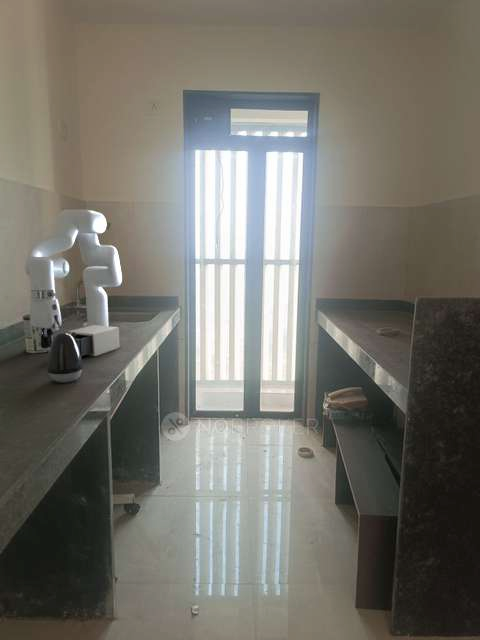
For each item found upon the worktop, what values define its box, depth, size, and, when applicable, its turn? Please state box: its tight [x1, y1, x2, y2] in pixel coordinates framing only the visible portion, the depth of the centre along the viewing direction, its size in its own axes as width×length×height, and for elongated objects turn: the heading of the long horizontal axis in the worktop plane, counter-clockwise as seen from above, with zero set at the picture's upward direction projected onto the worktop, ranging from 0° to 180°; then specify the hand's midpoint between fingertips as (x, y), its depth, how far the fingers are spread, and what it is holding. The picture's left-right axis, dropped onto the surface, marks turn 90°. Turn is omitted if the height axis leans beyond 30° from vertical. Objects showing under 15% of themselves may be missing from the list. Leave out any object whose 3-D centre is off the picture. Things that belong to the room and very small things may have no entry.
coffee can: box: [22, 313, 54, 354], centre depth 165 cm, size 10×10×14 cm
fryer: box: [67, 325, 121, 357], centre depth 166 cm, size 15×13×9 cm
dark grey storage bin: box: [46, 334, 93, 357], centre depth 156 cm, size 19×11×7 cm, turn 157°
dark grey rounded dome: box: [46, 332, 84, 384], centre depth 129 cm, size 10×10×15 cm
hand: (46, 347), depth 144 cm, fingers closed
